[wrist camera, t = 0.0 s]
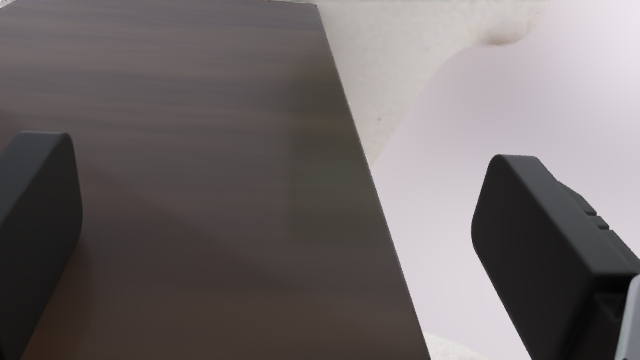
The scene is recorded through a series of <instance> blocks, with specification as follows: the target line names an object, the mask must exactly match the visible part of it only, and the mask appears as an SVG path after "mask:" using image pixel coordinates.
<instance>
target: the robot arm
mask: <svg viewBox="0 0 640 360" xmlns="http://www.w3.org/2000/svg"><path fill="white" fill-rule="evenodd" d="M82 222H83V204H82V198H81V191H80V185H79V178H78V172H77V165H76V159H75V152H74V146H73V142H72V139H71V137H70V135H69V134H68V133H65V132H45V131H20V132H19V133H18V134H17V135H16V137H15V138H14V139H13V140H12V141H11V142H10V143H9V145H8V146H7V147H6V148H5V149H4V150H3V151H2V153H1V154H0V360H20V359H21V357H22V355H23V353H24V351H25V348H26V346H27V344H28V342H29V340H30V338H31V336H32V334H33V332H34V330H35V328H36V326H37V324H38V322H39V320H40V318H41V316H42V314H43V311H44V309H45V307H46V305H47V303H48V301H49V299H50V297H51V295H52V293H53V291H54V289H55V286H56V284H57V282H58V280H59V278H60V276H61V274H62V272H63V270H64V268H65V266H66V264H67V261H68V259H69V257H70V255H71V253H72V251H73V249H74V247H75V245H76V243H77V241H78V238H79V236H80V233H81V228H82ZM471 238H472V243H473V247H474V249H475V252H476V253H477V255H478V257H479V259H480V261H481V263H482V265H483V267H484V269H485V271H486V273H487V275H488V276H489V278H490V280H491V282H492V284H493V286H494V288H495V290H496V291H497V294H498V296H499V298H500V299H501V301H502V303H503V305H504V307H505V309H506V311H507V313H508V315H509V317H510V319H511V321H512V323H513V325H514V326H515V328H516V330H517V332H518V334H519V336H520V338H521V340H522V342H523V344H524V346H525V347H526V350H527V351H528V353H529V355H530V357H531V359H532V360H640V259H639V258H637V256H636V255H635V254H634V253H633V252H632V251H631V250H630V248H629V247H628V246H627V245H626V244H625V243H624V242H623V241H622V240H621V239H620V238H619V236H618V235H617V234H616V233H615V232H614V231H613V230H609V225H608V224H607V223H606V222H605V221H604V220H603V219H602V218H601V217H600V216H597V212H596V211H595V210H594V209H593V208H592V207H591V206H590V205H589V203H588V202H587V201H586V200H585V199H584V198H583V197H582V196H581V195H579V194H578V193H576V192H575V191H573V190H571V189H570V188H569V187H567V186H565V185H564V184H562V183H561V182H559V181H557V180H556V179H555V178H554V177H553V175H552V174H551V173H550V172H549V171H548V170H547V168H546V167H545V166H544V165H543V164H542V163H541V162H540V160H539V159H538V158H536V157H534V156H520V155H500V154H498V155H495V156H494V157H493V158H492V159H491V161H490V163H489V166H488V168H487V173H486V175H485V178H484V182H483V185H482V189H481V192H480V195H479V199H478V202H477V205H476V209H475V212H474V215H473V219H472V225H471Z"/></svg>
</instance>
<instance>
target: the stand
mask: <svg viewBox="0 0 640 360" xmlns="http://www.w3.org/2000/svg"><path fill="white" fill-rule="evenodd" d="M20 131H45V132H65V133H68V134H69V135H70V137H71V139H72V142H73V146H74V152H75V159H76V165H77V172H78V178H79V185H80V191H81V198H82V204H83V222H82V228H81V233H80V236H79V238H78V241H77V243H76V245H75V247H74V249H73V251H72V253H71V255H70V257H69V259H68V261H67V264H66V266H65V268H64V270H63V272H62V274H61V276H60V278H59V280H58V282H57V284H56V286H55V289H54V291H53V293H52V295H51V297H50V299H49V301H48V303H47V305H46V307H45V309H44V311H43V314H42V316H41V318H40V320H39V322H38V324H37V326H36V328H35V330H34V332H33V334H32V336H31V338H30V340H29V342H28V344H27V346H26V348H25V351H24V353H23V355H22V357H21V359H20V360H431V358H430V355H429V352H428V349H427V346H426V342H425V339H424V336H423V333H422V330H421V327H420V324H419V321H418V318H417V315H416V312H415V309H414V306H413V302H412V299H411V296H410V293H409V290H408V287H407V284H406V281H405V278H404V274H403V271H402V268H401V265H400V262H399V259H398V256H397V253H396V250H395V247H394V244H393V241H392V238H391V234H390V231H389V228H388V225H387V222H386V219H385V216H384V213H383V210H382V207H381V204H380V200H379V197H378V194H377V191H376V188H375V185H374V182H373V179H372V176H371V172H370V169H369V166H368V163H367V160H366V157H365V154H364V151H363V148H362V145H361V142H360V138H359V135H358V132H357V129H356V126H355V123H354V120H353V117H352V114H351V111H350V108H349V104H348V101H347V98H346V95H345V92H344V89H343V86H342V83H341V80H340V77H339V74H338V70H337V67H336V64H335V61H334V58H333V55H332V52H331V49H330V46H329V43H328V40H327V36H326V33H325V30H324V27H323V24H322V21H321V18H320V15H319V12H318V9H317V6H316V5H311V4H300V3H290V2H279V1H268V0H15V1H13V2H11V3H10V4H8V5H6V6H4V7H2V8H0V154H1V153H2V151H3V150H4V149H5V148H6V147H7V146H8V145H9V143H10V142H11V141H12V140H13V139H14V138H15V137H16V135H17V134H18V133H19V132H20Z"/></svg>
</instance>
